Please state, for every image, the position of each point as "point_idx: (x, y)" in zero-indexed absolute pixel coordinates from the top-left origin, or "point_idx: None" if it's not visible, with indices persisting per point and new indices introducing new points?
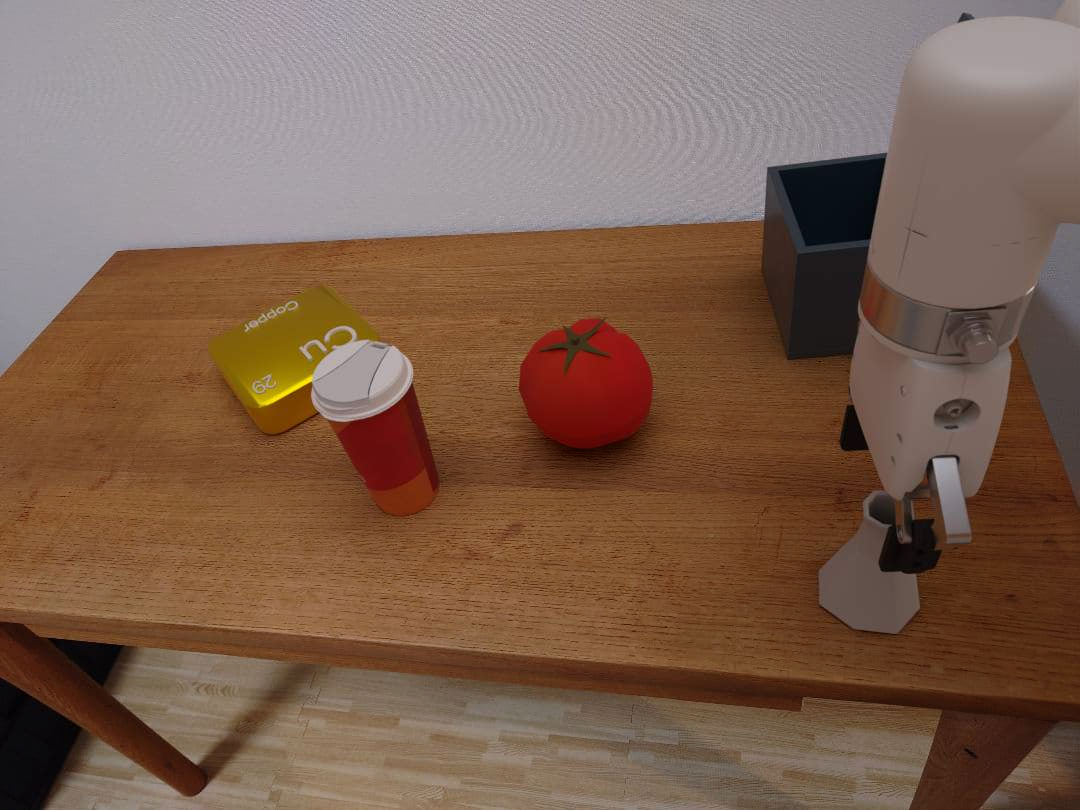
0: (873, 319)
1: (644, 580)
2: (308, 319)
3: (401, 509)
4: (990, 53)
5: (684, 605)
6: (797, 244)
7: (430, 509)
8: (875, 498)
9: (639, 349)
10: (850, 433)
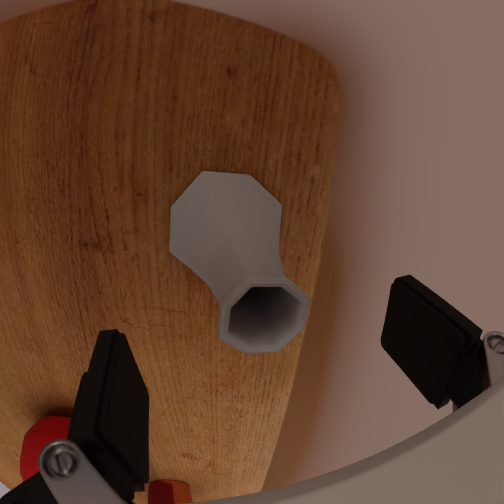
0: None
1: (222, 398)
2: None
3: (189, 490)
4: None
5: (245, 374)
6: None
7: (180, 479)
8: (229, 329)
9: (36, 472)
10: (146, 431)
